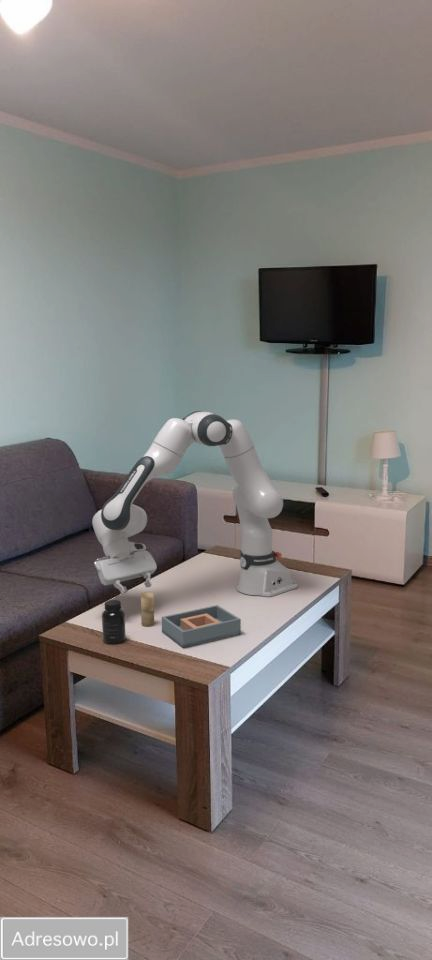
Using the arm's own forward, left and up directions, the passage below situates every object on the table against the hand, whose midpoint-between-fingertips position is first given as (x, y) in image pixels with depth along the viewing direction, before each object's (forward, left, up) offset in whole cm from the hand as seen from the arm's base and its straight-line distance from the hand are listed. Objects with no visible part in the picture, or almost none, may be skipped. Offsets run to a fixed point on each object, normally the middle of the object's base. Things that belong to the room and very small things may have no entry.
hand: (137, 589), depth 233 cm
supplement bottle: (+13, +11, -10) cm, 20 cm away
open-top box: (-12, +20, -10) cm, 26 cm away
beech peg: (-1, +5, -10) cm, 12 cm away
